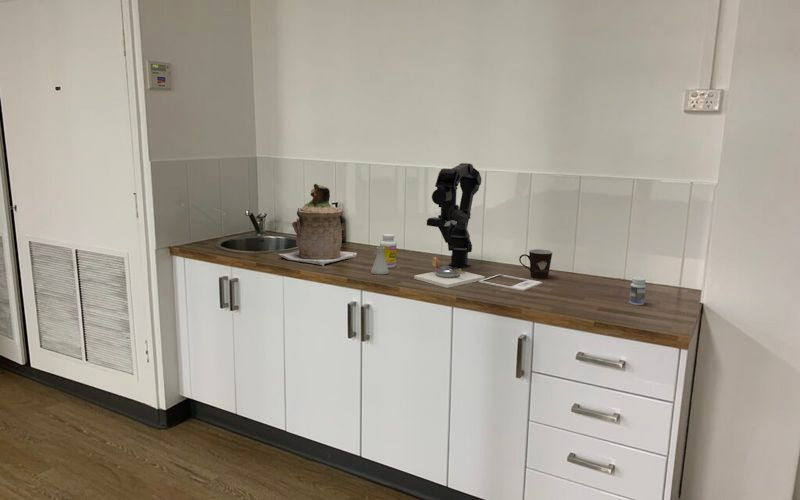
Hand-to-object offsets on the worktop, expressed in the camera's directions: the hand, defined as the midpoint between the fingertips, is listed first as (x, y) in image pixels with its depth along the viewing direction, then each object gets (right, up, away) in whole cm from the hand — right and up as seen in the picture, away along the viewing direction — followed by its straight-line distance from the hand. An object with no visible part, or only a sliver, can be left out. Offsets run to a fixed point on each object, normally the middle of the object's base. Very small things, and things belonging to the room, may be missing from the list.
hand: (447, 242), depth 237 cm
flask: (-26, -12, +1) cm, 28 cm away
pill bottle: (+59, -20, -35) cm, 72 cm away
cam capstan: (0, -12, -7) cm, 14 cm away
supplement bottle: (-23, -10, +13) cm, 28 cm away
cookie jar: (-53, -6, +26) cm, 59 cm away
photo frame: (+22, -15, -10) cm, 29 cm away
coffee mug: (+34, -13, -1) cm, 36 cm away
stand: (0, -14, -7) cm, 15 cm away
